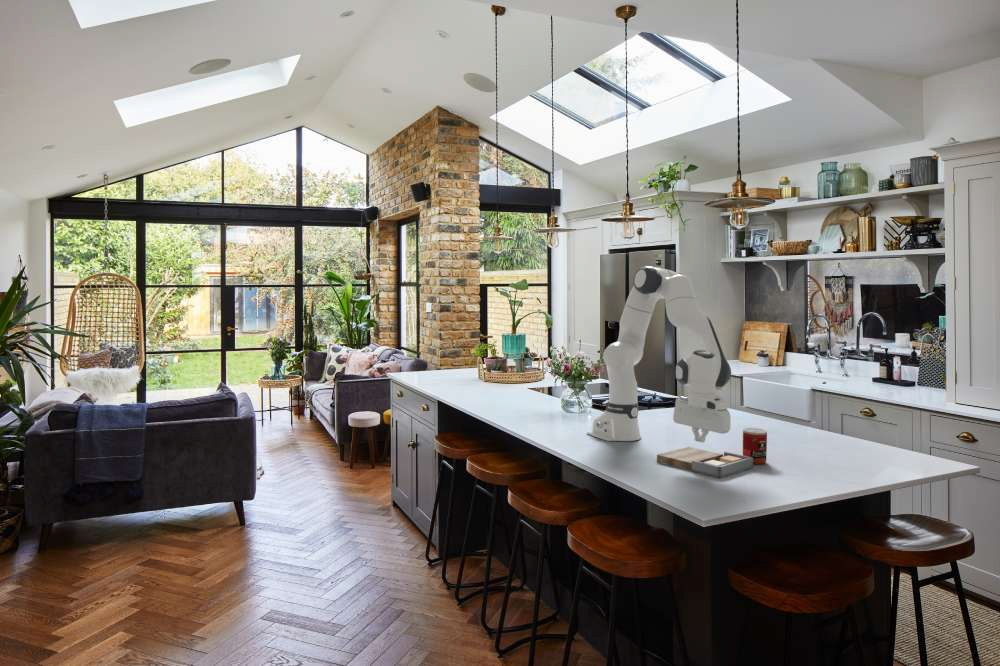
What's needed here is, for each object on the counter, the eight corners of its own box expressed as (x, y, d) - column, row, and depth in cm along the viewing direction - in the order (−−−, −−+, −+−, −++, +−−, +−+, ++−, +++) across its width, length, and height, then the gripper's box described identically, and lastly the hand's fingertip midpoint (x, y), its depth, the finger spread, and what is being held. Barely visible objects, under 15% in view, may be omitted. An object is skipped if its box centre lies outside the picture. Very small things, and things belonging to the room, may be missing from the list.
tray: (691, 471, 215) (691, 460, 215) (725, 461, 227) (725, 451, 226) (719, 478, 207) (719, 467, 207) (752, 467, 219) (753, 457, 218)
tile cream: (703, 469, 214) (703, 462, 214) (712, 467, 217) (712, 459, 217) (717, 473, 210) (717, 465, 210) (726, 470, 213) (726, 462, 213)
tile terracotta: (719, 465, 220) (719, 457, 220) (728, 462, 223) (728, 455, 223) (732, 468, 216) (733, 460, 216) (741, 465, 219) (741, 458, 219)
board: (656, 461, 227) (657, 454, 226) (688, 453, 238) (688, 446, 238) (691, 470, 216) (691, 463, 215) (722, 461, 227) (723, 454, 227)
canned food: (752, 465, 221) (752, 433, 221) (737, 459, 229) (738, 428, 228) (771, 464, 223) (772, 432, 223) (756, 458, 231) (757, 427, 230)
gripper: (670, 396, 223) (668, 436, 224) (722, 406, 207) (720, 449, 208) (681, 394, 227) (680, 433, 228) (734, 404, 211) (732, 446, 212)
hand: (699, 441), depth 218 cm, fingers closed
